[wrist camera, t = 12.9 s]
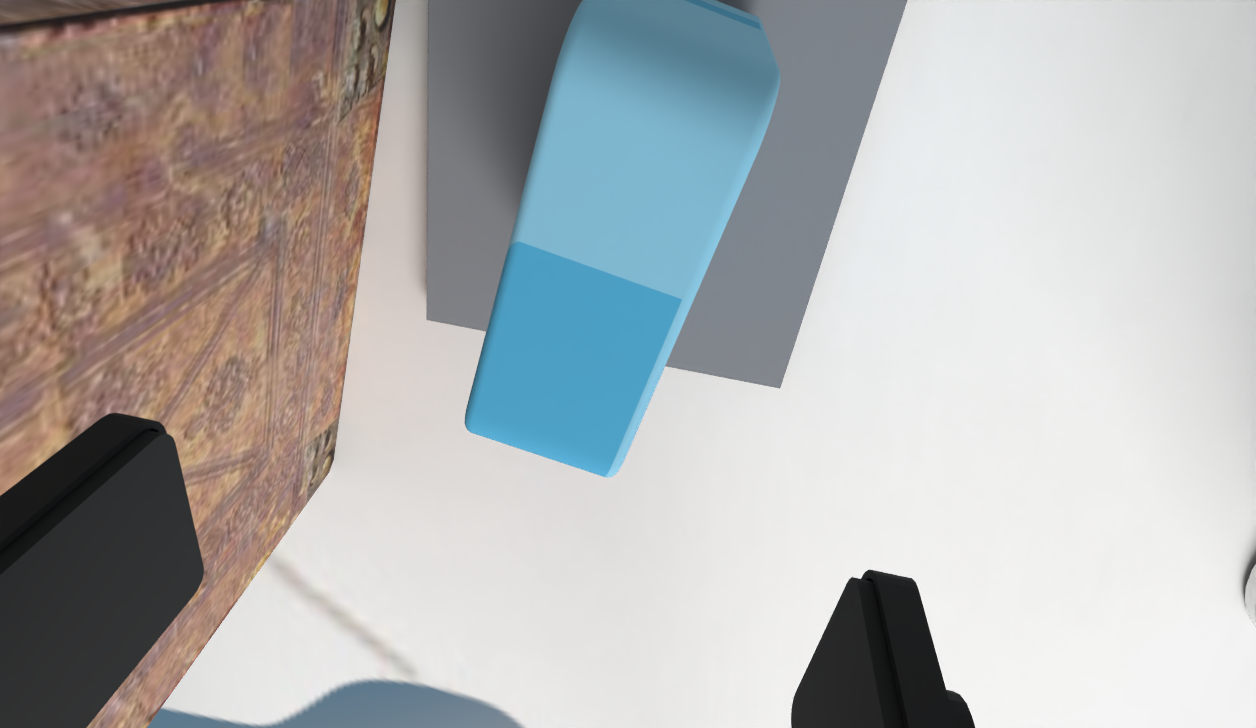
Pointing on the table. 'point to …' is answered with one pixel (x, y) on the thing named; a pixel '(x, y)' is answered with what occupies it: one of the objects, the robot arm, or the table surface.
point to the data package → (619, 220)
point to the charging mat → (764, 212)
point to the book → (187, 257)
